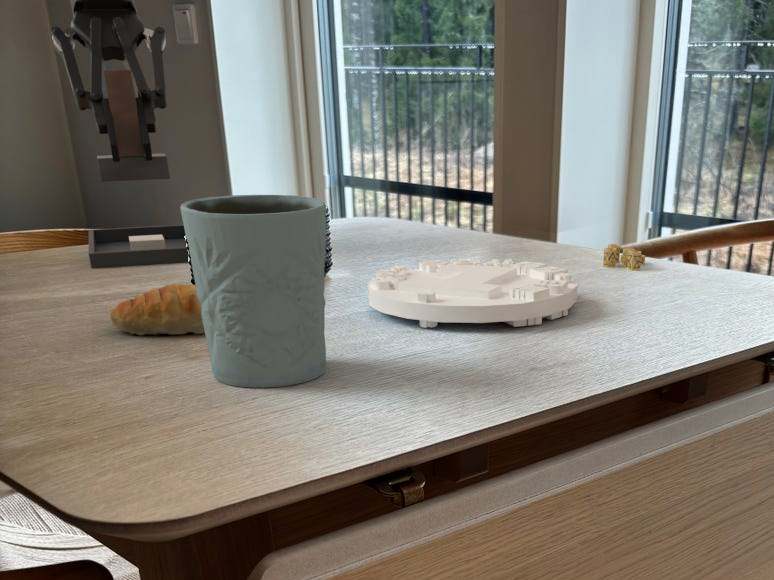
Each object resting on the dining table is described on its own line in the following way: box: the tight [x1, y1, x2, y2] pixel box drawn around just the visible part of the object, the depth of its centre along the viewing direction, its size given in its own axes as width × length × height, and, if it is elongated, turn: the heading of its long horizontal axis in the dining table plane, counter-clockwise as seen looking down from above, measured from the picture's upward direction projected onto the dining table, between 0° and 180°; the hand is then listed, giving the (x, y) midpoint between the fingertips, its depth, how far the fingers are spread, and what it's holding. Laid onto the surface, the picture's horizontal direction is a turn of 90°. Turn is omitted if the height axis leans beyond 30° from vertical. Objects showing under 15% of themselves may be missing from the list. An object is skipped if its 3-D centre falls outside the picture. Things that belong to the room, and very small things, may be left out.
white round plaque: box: [367, 257, 578, 329], centre depth 93 cm, size 20×20×3 cm
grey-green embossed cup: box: [179, 194, 327, 389], centre depth 72 cm, size 10×10×12 cm
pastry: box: [109, 283, 205, 336], centre depth 87 cm, size 9×7×4 cm
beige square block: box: [129, 235, 166, 250], centre depth 118 cm, size 4×4×2 cm
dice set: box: [602, 243, 646, 272], centre depth 112 cm, size 5×5×2 cm
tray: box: [88, 224, 189, 269], centre depth 118 cm, size 19×13×2 cm
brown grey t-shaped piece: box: [96, 69, 171, 183], centre depth 117 cm, size 8×4×12 cm, turn 109°
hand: (131, 152), depth 115 cm, fingers closed on brown grey t-shaped piece, 3 cm apart
